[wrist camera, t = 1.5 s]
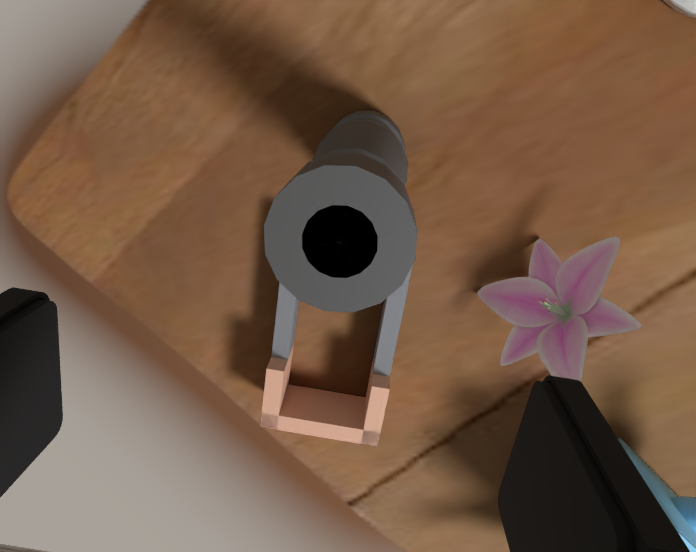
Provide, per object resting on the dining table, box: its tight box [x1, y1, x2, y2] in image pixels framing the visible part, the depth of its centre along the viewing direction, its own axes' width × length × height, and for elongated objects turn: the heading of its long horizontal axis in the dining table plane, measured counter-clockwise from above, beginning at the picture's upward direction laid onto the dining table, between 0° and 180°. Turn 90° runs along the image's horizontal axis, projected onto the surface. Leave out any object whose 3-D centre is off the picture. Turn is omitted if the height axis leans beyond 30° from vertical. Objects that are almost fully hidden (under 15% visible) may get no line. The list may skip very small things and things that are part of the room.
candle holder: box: [264, 110, 417, 312], centre depth 31 cm, size 6×6×25 cm
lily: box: [478, 237, 641, 382], centre depth 43 cm, size 12×12×10 cm
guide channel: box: [260, 265, 413, 447], centre depth 46 cm, size 18×10×5 cm, turn 171°
